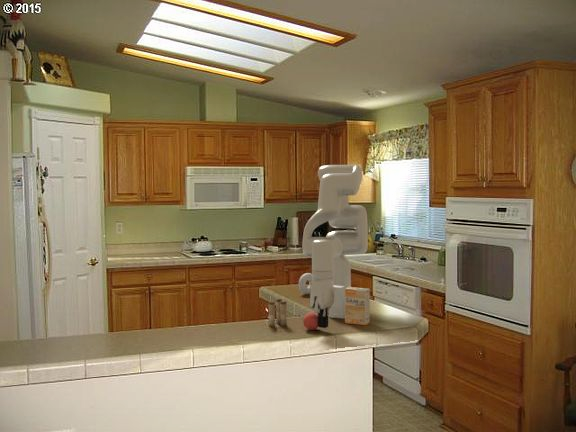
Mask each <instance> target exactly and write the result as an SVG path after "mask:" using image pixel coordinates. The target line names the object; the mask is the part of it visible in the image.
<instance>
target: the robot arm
mask: <svg viewBox="0 0 576 432" xmlns="http://www.w3.org/2000/svg"><path fill="white" fill-rule="evenodd" d="M317 176H318V179H319V190H318V202H317V210H316V211H315V213H313V215H312V216H311V217H310V218H309V219H308V221H306V224H305V226H304V229H303V234H302V235H303V236H302V242H301V243H302V245H301V246H302V249H301V250H302V253H303V255H304V256H305V257H307V258H311V274H312V283H311V293H310V294H309V296H310V297H309V298H310V299H309V300H310V301H309V306H310V308H311V309H314V310H313V311H314V312H313V313H315V314H317V316H318V328H323V329H327V328H329V309H330V308H331V305H333V303H334V286H333V285H337V286H346V288H348V287H352V278H351V277H352V274H351V271H352V269H351V262H350V261H349V259H348V258H347V257H346V255H363V254H365V253H367V251H368V247H369V236H368V235H369V234H368V232H369V230H368V229H369V228H368V214H367V212H368V211H367V210H366V207H365V206H364V205H360V204H349V196H356V195H357V194H358V192H359V190H360V186H361V184H362V181H363V170H362V168H361V167H360V165H358V164H328V165H327V164H326V165H322V166H320V167H319V168H318V171H317ZM327 222H328V225H329V227H331V228H335V229H355V230H333V231H331V232H330V231H329V232H328V233H327V234H326V236H312V235H313V233H314V232H315V231H314V230H315V229H317V228H318V227H319V226H320V225H323V224H325V223H327Z"/></svg>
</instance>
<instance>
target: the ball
mask: <svg viewBox="0 0 576 432" xmlns="http://www.w3.org/2000/svg"><path fill="white" fill-rule="evenodd" d="M303 326H304V327H305V328H306V329H307V330H310V331H315V330H317V329H318V328H319V327H318V316H317V313H315V312H309V313H306V315H305V316H304V317H303Z"/></svg>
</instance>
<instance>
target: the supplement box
mask: <svg viewBox="0 0 576 432" xmlns="http://www.w3.org/2000/svg"><path fill="white" fill-rule="evenodd" d="M370 290H371V289H370V288H364V287H354V286H353V287H352V286H351V287H348V288H346V289H345V318H344V324H350V325H359V326H367V325H369V324H370V313H371V311H370V304H371V303H370V302H371V301H370V300H371V297H370V296H371V295H370V293H371V292H370Z"/></svg>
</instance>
